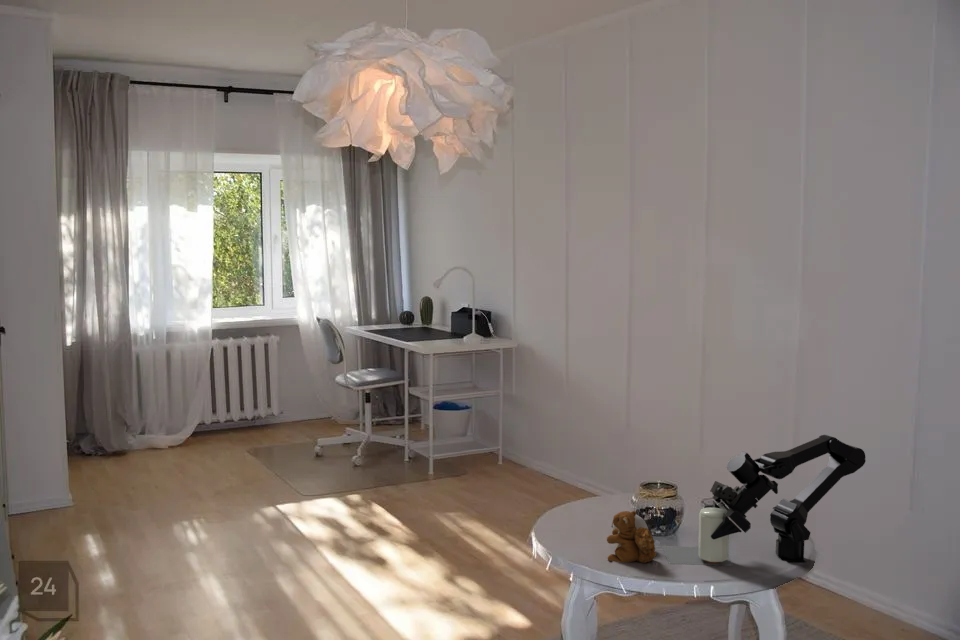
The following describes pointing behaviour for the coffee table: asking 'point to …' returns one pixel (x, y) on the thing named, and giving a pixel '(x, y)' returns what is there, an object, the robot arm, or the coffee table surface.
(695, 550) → the slate mat
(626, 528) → the stuffed squirrel
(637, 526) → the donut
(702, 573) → the coffee table surface
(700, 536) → the pale green faceted cylinder
